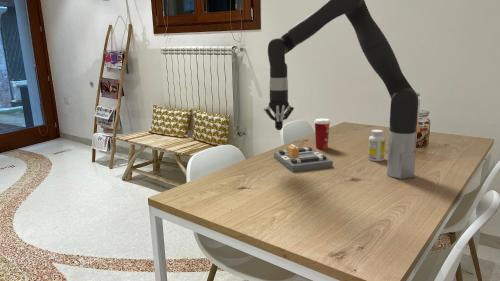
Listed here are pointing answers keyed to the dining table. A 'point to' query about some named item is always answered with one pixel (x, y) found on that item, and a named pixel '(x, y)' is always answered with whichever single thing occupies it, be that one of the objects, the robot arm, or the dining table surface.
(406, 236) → the dining table surface
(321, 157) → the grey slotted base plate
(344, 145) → the dining table surface
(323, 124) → the paper cup
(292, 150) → the block
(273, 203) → the dining table surface
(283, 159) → the breaker panel
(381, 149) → the supplement bottle
